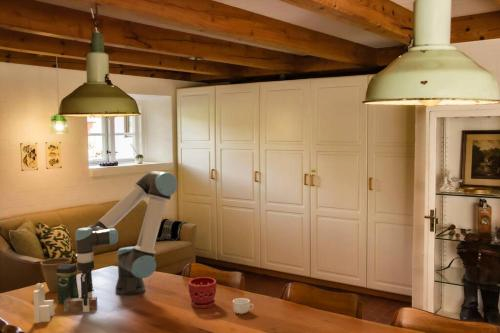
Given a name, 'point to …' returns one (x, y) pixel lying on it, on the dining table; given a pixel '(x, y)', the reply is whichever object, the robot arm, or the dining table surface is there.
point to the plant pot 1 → (52, 272)
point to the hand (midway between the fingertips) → (88, 308)
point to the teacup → (241, 305)
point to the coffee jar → (67, 282)
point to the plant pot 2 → (202, 292)
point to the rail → (79, 304)
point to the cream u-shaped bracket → (42, 305)
